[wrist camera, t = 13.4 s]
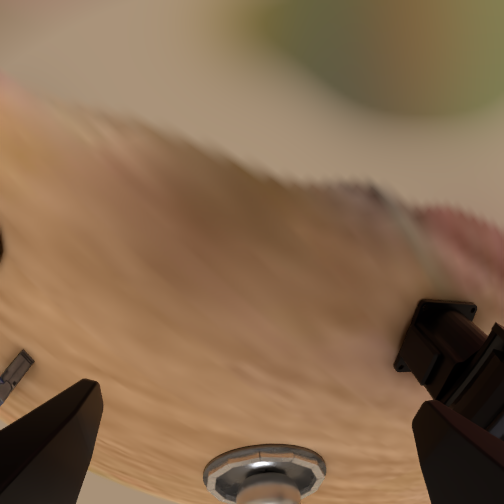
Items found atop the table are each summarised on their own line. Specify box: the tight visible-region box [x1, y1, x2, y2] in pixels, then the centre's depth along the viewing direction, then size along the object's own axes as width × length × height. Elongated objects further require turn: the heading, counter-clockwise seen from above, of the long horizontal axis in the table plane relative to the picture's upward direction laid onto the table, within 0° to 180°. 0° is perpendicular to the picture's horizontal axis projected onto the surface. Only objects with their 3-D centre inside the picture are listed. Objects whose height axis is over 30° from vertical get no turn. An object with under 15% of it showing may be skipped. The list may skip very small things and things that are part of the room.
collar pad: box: [203, 444, 326, 504], centre depth 27 cm, size 13×13×1 cm
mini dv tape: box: [0, 350, 35, 406], centre depth 20 cm, size 8×2×6 cm, turn 128°
